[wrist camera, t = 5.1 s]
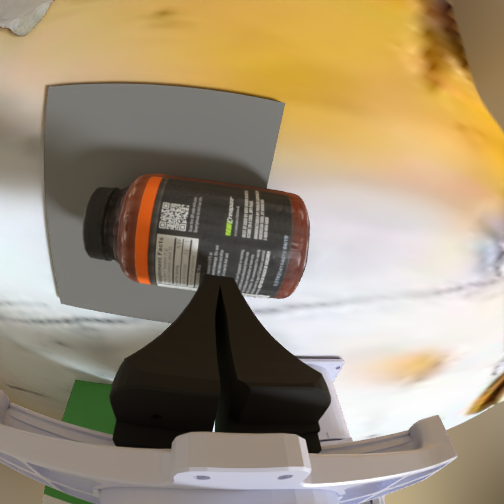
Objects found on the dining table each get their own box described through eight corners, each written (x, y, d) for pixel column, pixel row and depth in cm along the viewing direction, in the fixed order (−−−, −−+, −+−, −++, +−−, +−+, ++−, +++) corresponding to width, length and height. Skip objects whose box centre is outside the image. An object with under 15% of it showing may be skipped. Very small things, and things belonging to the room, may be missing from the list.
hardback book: (166, 449, 36) (163, 586, 15) (121, 444, 35) (109, 574, 14) (133, 386, 27) (110, 596, 7) (75, 380, 27) (34, 566, 6)
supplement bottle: (276, 243, 21) (116, 221, 19) (304, 174, 16) (108, 146, 14) (282, 320, 17) (89, 294, 15) (322, 254, 12) (61, 219, 11)
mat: (234, 325, 24) (235, 330, 23) (63, 299, 21) (61, 303, 21) (283, 103, 16) (285, 103, 15) (53, 86, 13) (48, 86, 13)
